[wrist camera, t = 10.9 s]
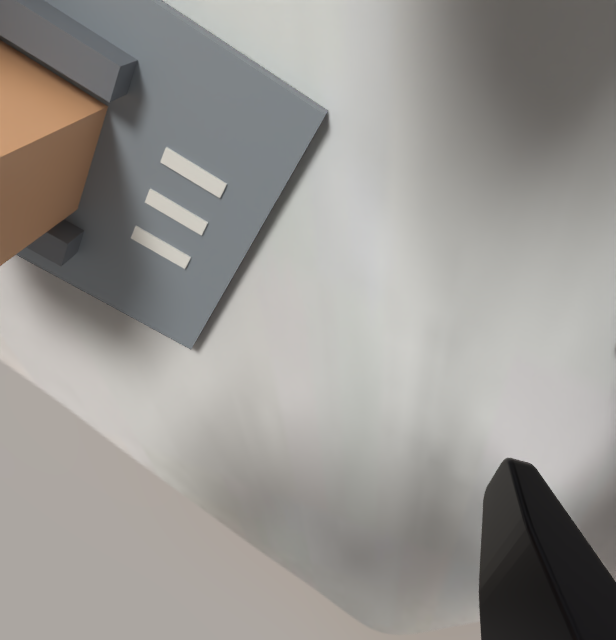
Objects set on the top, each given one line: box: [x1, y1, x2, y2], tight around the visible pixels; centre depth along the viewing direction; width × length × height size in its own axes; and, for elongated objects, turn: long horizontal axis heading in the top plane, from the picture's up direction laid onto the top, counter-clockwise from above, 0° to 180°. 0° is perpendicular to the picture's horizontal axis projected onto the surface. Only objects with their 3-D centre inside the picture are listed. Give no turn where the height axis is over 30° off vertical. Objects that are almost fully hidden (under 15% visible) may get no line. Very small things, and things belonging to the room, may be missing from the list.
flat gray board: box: [0, 0, 328, 349], centre depth 18 cm, size 14×12×3 cm
